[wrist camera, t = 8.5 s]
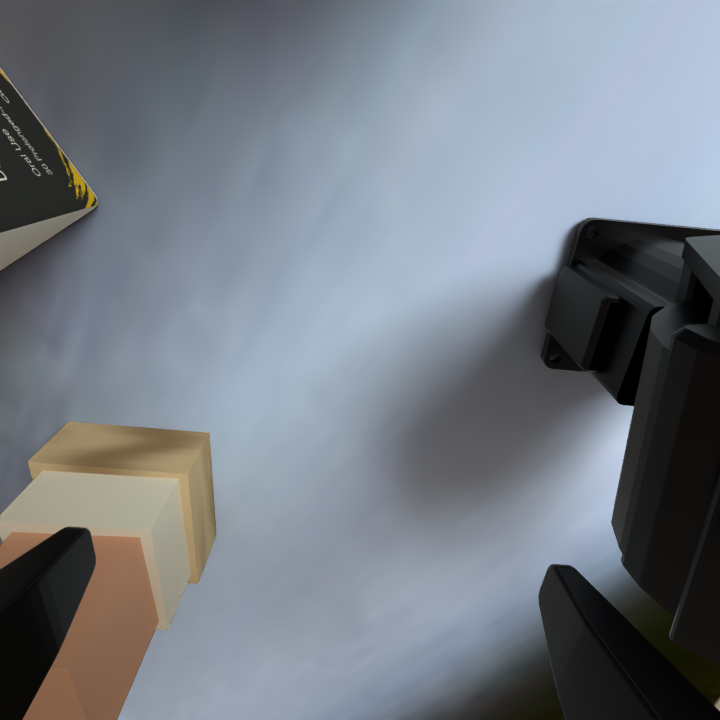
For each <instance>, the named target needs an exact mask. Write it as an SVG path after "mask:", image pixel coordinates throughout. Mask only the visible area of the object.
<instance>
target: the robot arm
mask: <svg viewBox="0 0 720 720" xmlns="http://www.w3.org/2000/svg"><path fill="white" fill-rule="evenodd" d="M592 226H595V227H596V231H595V233H594V234H593V235H592V236H591V237H587V231H588V229H589V228H590V227H592ZM545 327H546V329H547V330H548V332H547V336H546V339H545V343H544V347H543V350H542V354H541V358H542V361H543V362H544V364H545V365H546V366H547V367H548V368H552V369H562V370H573V371H585V372H591V373H592V374H593V376H594V377H595V378H596V379H597V380H598V381H599V382H600V383H601V384H602V385H603V387H604V388H605V389H606V390H607V391H608V392H609V393H610V394H611V395H612V397H613V398H614V399H615V400H616V401H617V402H618V403H619V404H622V405H629V406H634V409H633V414H632V419H631V424H630V429H629V434H628V439H627V444H626V449H625V454H624V459H623V464H622V469H621V474H620V479H619V484H618V489H617V494H616V499H615V504H614V510H613V516H612V521H611V524H612V527H613V530H614V533H615V536H616V539H617V542H618V546H619V548H620V550H621V552H622V553H623V554H622V558H621V562H622V564H623V566H624V567H625V569H626V570H627V571H628V573H629V574H630V575H631V576H632V578H633V579H634V580H635V581H636V583H637V584H638V585H639V586H640V587H641V588H642V589H643V590H644V591H645V592H646V593H648V594H649V595H650V596H651V597H652V598H653V599H654V600H655V601H656V602H658V603H659V604H660V605H661V606H662V607H663V608H664V609H666V610H667V611H668V612H670V613H671V614H672V615H674V616H675V618H674V621H673V624H672V627H671V631H670V634H669V635H670V639H671V641H672V642H673V643H674V644H676V645H677V646H679V647H681V648H684V649H686V650H688V651H690V652H692V653H695V654H697V655H699V656H701V657H703V658H706V659H708V660H710V661H712V662H714V663H717V664H719V665H720V230H718V229H707V228H697V227H686V226H676V225H665V224H655V223H644V222H634V221H623V220H613V219H602V218H587V219H585V220H583V221H582V222H581V223H580V224H579V226H578V228H577V230H576V234H575V237H574V241H573V244H572V248H571V251H570V255H569V258H568V262H567V265H566V267H564V268H563V269H562V270H561V271H560V272H559V275H558V279H557V283H556V286H555V290H554V293H553V297H552V300H551V304H550V308H549V311H548V315H547V318H546V322H545ZM556 353H558V356H557V358H556V359H554V360H550V357H551V355H553V354H556ZM95 565H96V554H95V550H94V545H93V541H92V536H91V532H90V531H89V529H87V528H83V527H65V528H63V529H61V530H59V531H58V532H56V533H55V534H53V535H52V536H50V537H49V538H47V539H45V540H44V541H42V542H41V543H39V544H38V545H36V546H35V547H33V548H32V549H30V550H29V551H27V552H26V553H24V554H22V555H21V556H19V557H18V558H16V559H15V560H13V561H12V562H10V563H9V564H7V565H6V566H4V567H3V568H1V569H0V720H23V718H24V716H25V714H26V713H27V711H28V709H29V707H30V705H31V703H32V701H33V700H34V698H35V696H36V694H37V692H38V690H39V689H40V687H41V685H42V683H43V681H44V679H45V678H46V676H47V674H48V672H49V670H50V668H51V666H52V665H53V663H54V661H55V659H56V657H57V655H58V653H59V651H60V649H61V647H62V644H63V642H64V640H65V638H66V635H67V633H68V631H69V628H70V626H71V624H72V621H73V619H74V617H75V614H76V612H77V609H78V607H79V605H80V602H81V600H82V598H83V595H84V593H85V591H86V588H87V586H88V584H89V581H90V579H91V577H92V574H93V572H94V569H95ZM539 606H540V611H541V616H542V621H543V626H544V631H545V636H546V641H547V646H548V651H549V656H550V661H551V666H552V671H553V676H554V680H555V685H556V689H557V692H558V696H559V700H560V703H561V706H562V710H563V713H564V716H565V719H566V720H720V711H719V710H718V709H717V708H716V707H715V706H714V705H713V704H712V703H711V702H710V701H709V700H708V699H707V698H706V697H705V696H703V695H702V694H701V693H700V692H699V691H698V690H697V689H696V688H695V687H694V686H693V685H692V684H691V683H690V682H689V681H688V680H687V679H686V678H685V677H684V676H683V675H682V674H681V673H680V672H679V671H678V670H677V669H676V668H675V667H674V666H673V665H672V664H671V663H670V662H669V661H668V660H667V659H666V658H665V657H664V656H663V655H662V654H661V653H660V652H659V651H658V650H657V649H656V648H655V647H654V646H653V645H652V644H651V643H650V642H649V641H648V640H647V639H646V638H645V637H644V636H643V635H642V634H641V633H640V632H639V631H638V630H637V629H636V628H635V627H634V626H633V625H632V624H631V623H630V622H629V621H628V620H627V619H626V618H625V617H624V616H623V615H622V614H621V613H620V612H619V611H618V610H617V609H616V608H615V607H614V606H612V605H611V604H610V603H609V602H608V601H607V600H606V599H605V598H604V597H603V596H602V595H601V594H600V593H599V592H598V591H597V590H596V589H595V588H594V587H593V586H592V585H591V584H590V583H589V582H588V581H587V580H586V579H585V578H584V577H583V576H582V575H581V574H580V573H579V572H578V571H577V570H576V569H575V568H574V567H572V566H569V565H559V564H552V565H550V566H549V567H548V569H547V572H546V575H545V577H544V580H543V583H542V586H541V588H540V591H539Z"/></svg>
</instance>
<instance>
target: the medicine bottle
mask: <svg viewBox="0 0 720 720" xmlns="http://www.w3.org/2000/svg"><path fill="white" fill-rule="evenodd" d="M97 205H98V198H97V196H96V195H95V193H94V192H93V191H92V189H91V188H90V187H89V185H88V184H87V183H86V181H85V180H84V179H83V177H82V176H81V175H80V173H79V172H78V171H77V169H76V168H75V167H74V165H73V164H72V163H71V161H70V160H69V159H68V157H67V156H66V155H65V153H64V152H63V151H62V149H61V148H60V147H59V145H58V144H57V143H56V141H55V140H54V139H53V137H52V136H51V135H50V133H49V132H48V130H47V129H46V128H45V126H44V125H43V124H42V122H41V121H40V120H39V118H38V117H37V116H36V114H35V113H34V112H33V110H32V109H31V108H30V106H29V105H28V104H27V102H26V101H25V100H24V98H23V97H22V96H21V94H20V93H19V92H18V90H17V89H16V88H15V86H14V85H13V84H12V82H11V81H10V80H9V78H8V77H7V76H6V74H5V73H4V72H3V70H2V69H1V68H0V271H1V270H2V269H4V268H5V267H7V266H8V265H10V264H11V263H13V262H14V261H16V260H17V259H19V258H20V257H22V256H24V255H25V254H27V253H28V252H30V251H31V250H33V249H34V248H36V247H37V246H39V245H40V244H42V243H43V242H45V241H46V240H48V239H49V238H51V237H52V236H54V235H55V234H57V233H58V232H60V231H61V230H63V229H64V228H66V227H67V226H69V225H70V224H72V223H73V222H75V221H76V220H78V219H80V218H81V217H83V216H84V215H86V214H87V213H89V212H90V211H92V210H93V209H94V208H95V207H96V206H97Z"/></svg>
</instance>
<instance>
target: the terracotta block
mask: <svg viewBox="0 0 720 720" xmlns="http://www.w3.org/2000/svg"><path fill="white" fill-rule="evenodd" d="M52 535H53V534H49V533H24V532H12V533H11V534H10V535H9V536H8V537H7V538H6V539H5V541H4V542H3V543H2V544H1V545H0V569H1V568H3V567H4V566H6V565H7V564H9V563H10V562H12V561H13V560H15V559H16V558H18V557H19V556H21V555H22V554H24V553H26V552H27V551H29V550H30V549H32V548H33V547H35V546H36V545H38V544H39V543H41V542H42V541H44V540H45V539H47V538H49V537H50V536H52ZM91 536H92V541H93V545H94V550H95V554H96V565H95V569H94V572H93V574H92V577H91V579H90V581H89V584H88V586H87V588H86V591H85V593H84V595H83V598H82V600H81V602H80V605H79V607H78V609H77V612H76V614H75V617H74V619H73V621H72V624H71V626H70V628H69V631H68V633H67V635H66V638H65V640H64V642H63V644H62V647H61V649H60V651H59V653H58V655H57V657H56V659H55V661H54V663H53V665H52V666H51V668H50V670H49V672H48V674H47V676H46V678H45V679H44V681H43V683H42V685H41V687H40V689H39V690H38V692H37V694H36V696H35V698H34V700H33V701H32V703H31V705H30V707H29V709H28V711H27V713H26V714H25V716H24V718H23V720H117V719H118V716H119V714H120V712H121V709H122V707H123V705H124V702H125V700H126V698H127V695H128V693H129V690H130V688H131V686H132V683H133V681H134V679H135V676H136V674H137V672H138V669H139V667H140V665H141V662H142V660H143V658H144V655H145V653H146V651H147V648H148V646H149V644H150V641H151V639H152V637H153V634H154V632H155V629H156V627H157V625H158V622H159V619H158V614H157V610H156V606H155V601H154V597H153V593H152V588H151V584H150V580H149V575H148V571H147V566H146V562H145V558H144V553H143V549H142V545H141V540H140V537H122V536H98V535H91Z"/></svg>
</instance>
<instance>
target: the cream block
mask: <svg viewBox="0 0 720 720" xmlns="http://www.w3.org/2000/svg"><path fill="white" fill-rule="evenodd" d="M65 527H83V528H87V529H89V531H90V532H91V535H98V536H122V537H140V540H141V545H142V549H143V553H144V558H145V562H146V566H147V571H148V575H149V580H150V584H151V588H152V593H153V597H154V601H155V606H156V610H157V614H158V619H159V622H158V625H157V627H156V629H155V630H169V627H170V625H171V622H172V620H173V617H174V615H175V612H176V610H177V607H178V605H179V602H180V600H181V597H182V595H183V592H184V590H185V587H186V585H187V582H188V580H189V577H190V575H191V569H190V562H189V554H188V547H187V539H186V532H185V524H184V517H183V509H182V501H181V494H180V486H179V479H172V478H156V477H140V476H124V475H108V474H92V473H75V472H59V471H42V472H41V473H40V474H39V475H38V476H37V477H36V478H35V479H34V480H33V481H32V482H31V483H30V484H29V485H28V486H27V487H26V488H25V489H24V490H23V492H22V493H21V494H20V495H19V496H18V497H17V498H16V499H15V500H14V501H13V502H12V503H11V504H10V505H9V506H8V507H7V508H6V509H5V510H4V511H3V512H2V514H1V515H0V537H1V540H2V543H3V542H4V541H5V539H6V538H7V537H8V536H9V535H10V534H11V533H12V532H24V533H49V534H55V533H56V532H58V531H59V530H61V529H63V528H65Z"/></svg>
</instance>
